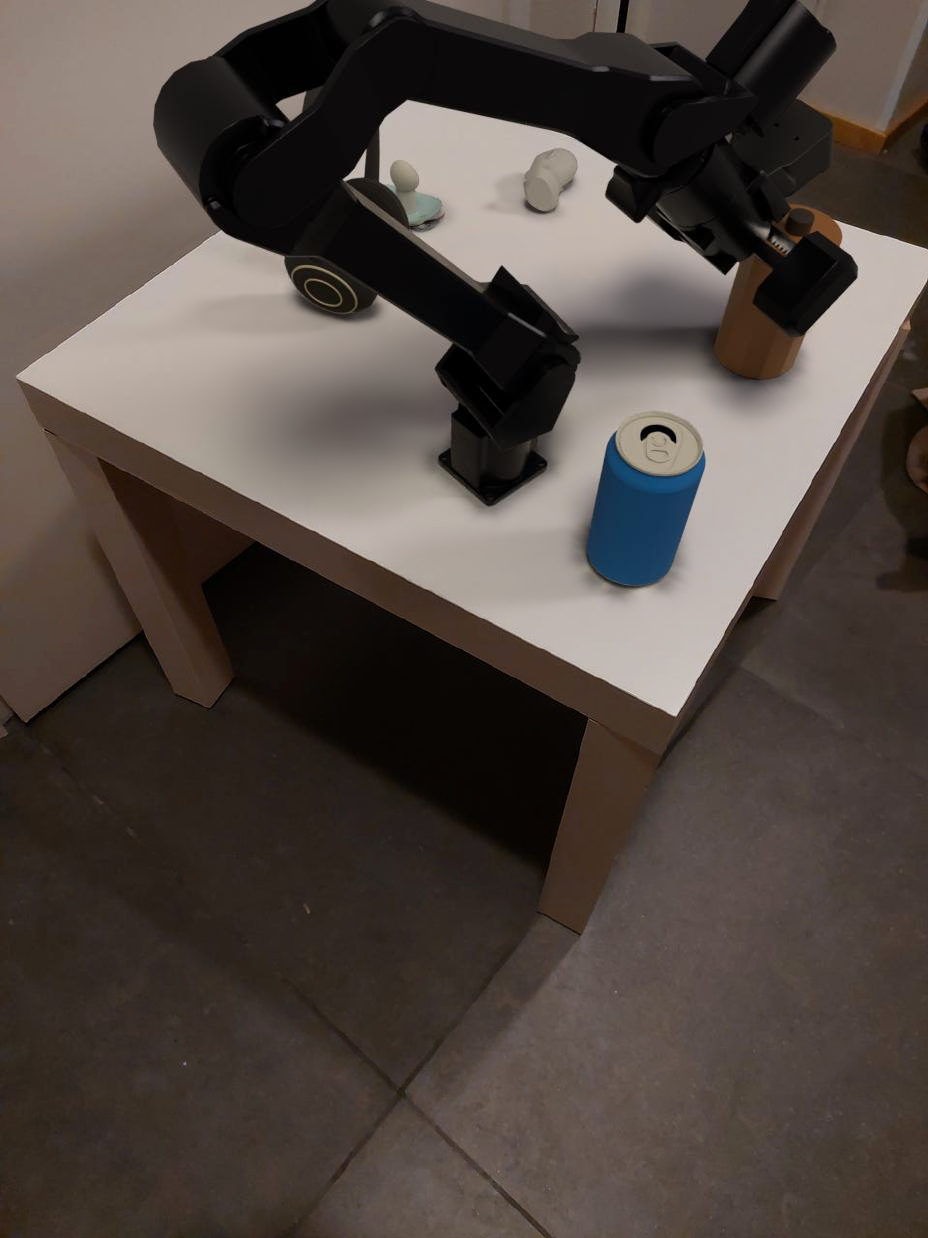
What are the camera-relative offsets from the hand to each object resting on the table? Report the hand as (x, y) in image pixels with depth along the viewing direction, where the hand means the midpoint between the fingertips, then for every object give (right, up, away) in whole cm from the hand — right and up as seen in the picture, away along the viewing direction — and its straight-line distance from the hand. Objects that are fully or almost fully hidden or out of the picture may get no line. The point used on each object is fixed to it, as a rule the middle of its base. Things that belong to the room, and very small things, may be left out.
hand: (773, 278), depth 74 cm
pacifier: (-31, +13, +18) cm, 38 cm away
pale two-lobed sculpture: (-17, +16, +20) cm, 31 cm away
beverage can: (-13, -23, -6) cm, 27 cm away
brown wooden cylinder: (+1, -4, +7) cm, 8 cm away
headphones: (-36, +3, +11) cm, 38 cm away
